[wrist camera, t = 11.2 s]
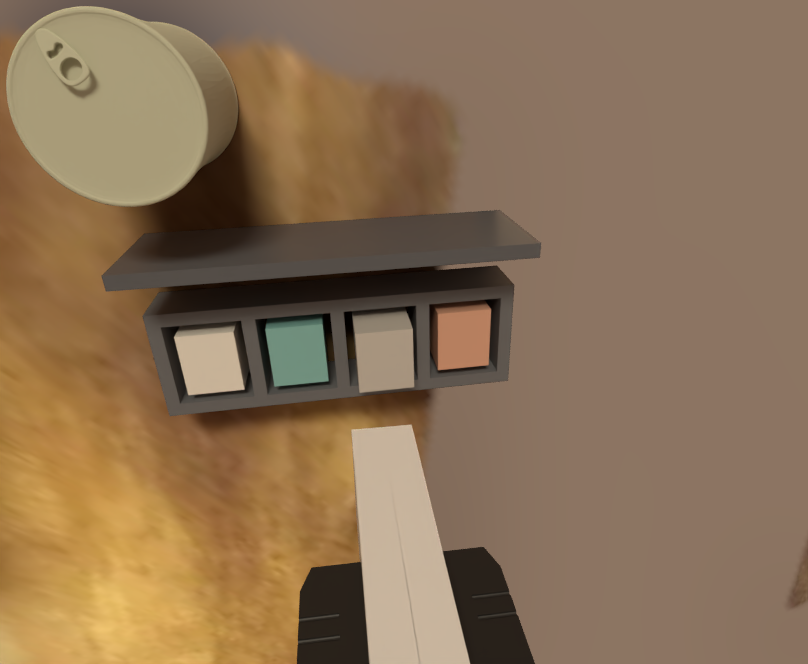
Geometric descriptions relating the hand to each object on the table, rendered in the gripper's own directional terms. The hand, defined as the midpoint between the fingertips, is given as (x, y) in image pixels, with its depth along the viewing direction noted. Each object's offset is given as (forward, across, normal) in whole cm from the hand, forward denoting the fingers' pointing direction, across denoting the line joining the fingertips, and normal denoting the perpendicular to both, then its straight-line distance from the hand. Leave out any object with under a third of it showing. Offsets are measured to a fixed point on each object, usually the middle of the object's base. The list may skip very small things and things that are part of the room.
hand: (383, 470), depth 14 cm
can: (+31, -11, +7) cm, 34 cm away
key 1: (+30, -11, -11) cm, 34 cm away
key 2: (+30, -4, -11) cm, 32 cm away
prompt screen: (+31, -1, -2) cm, 31 cm away
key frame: (+31, -1, -10) cm, 33 cm away
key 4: (+30, +9, -10) cm, 33 cm away
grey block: (+28, +2, -10) cm, 30 cm away
